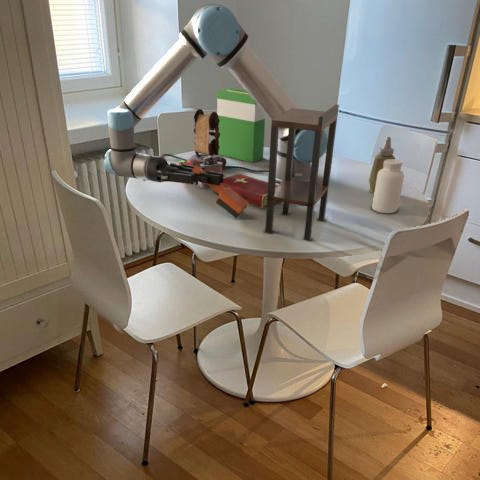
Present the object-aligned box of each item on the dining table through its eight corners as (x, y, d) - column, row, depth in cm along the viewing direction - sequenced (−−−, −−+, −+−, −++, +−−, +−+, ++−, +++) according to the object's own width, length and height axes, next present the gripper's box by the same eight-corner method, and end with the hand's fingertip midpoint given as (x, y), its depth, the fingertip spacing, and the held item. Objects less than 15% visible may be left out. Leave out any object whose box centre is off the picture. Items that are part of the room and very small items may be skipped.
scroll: (179, 167, 194) (177, 110, 182) (203, 159, 204) (202, 104, 192) (210, 175, 187) (210, 116, 176) (234, 166, 197) (234, 110, 186)
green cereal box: (217, 154, 210) (217, 90, 196) (228, 150, 215) (228, 87, 201) (252, 162, 202) (255, 95, 188) (263, 158, 207) (266, 93, 193)
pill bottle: (368, 205, 166) (376, 157, 157) (392, 204, 166) (401, 157, 158) (375, 214, 159) (384, 165, 150) (400, 213, 160) (411, 165, 151)
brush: (185, 179, 152) (191, 168, 150) (194, 174, 157) (199, 163, 154) (235, 219, 153) (242, 208, 150) (242, 212, 157) (249, 202, 155)
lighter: (202, 188, 175) (202, 158, 169) (198, 185, 177) (198, 156, 171) (224, 185, 178) (224, 156, 172) (219, 182, 180) (219, 153, 175)
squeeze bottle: (391, 196, 173) (402, 141, 162) (366, 194, 174) (376, 139, 163) (390, 189, 179) (400, 135, 169) (366, 187, 180) (376, 133, 170)
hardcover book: (262, 208, 160) (263, 195, 158) (214, 192, 172) (214, 180, 169) (285, 199, 168) (286, 186, 166) (237, 184, 179) (238, 172, 177)
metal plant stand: (265, 232, 145) (272, 111, 127) (283, 212, 158) (292, 100, 140) (309, 240, 141) (322, 116, 123) (324, 219, 154) (339, 104, 136)
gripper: (164, 174, 166) (230, 184, 159) (140, 187, 154) (210, 199, 148) (162, 150, 161) (231, 160, 155) (137, 162, 150) (210, 173, 143)
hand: (221, 179), depth 151 cm, fingers closed on brush, 2 cm apart
